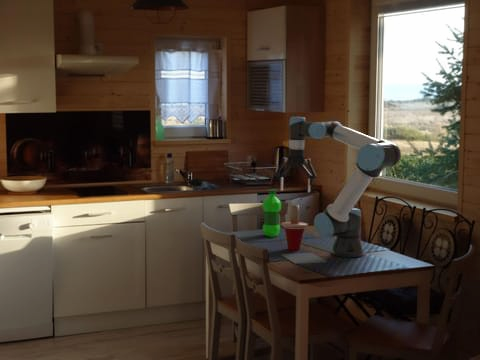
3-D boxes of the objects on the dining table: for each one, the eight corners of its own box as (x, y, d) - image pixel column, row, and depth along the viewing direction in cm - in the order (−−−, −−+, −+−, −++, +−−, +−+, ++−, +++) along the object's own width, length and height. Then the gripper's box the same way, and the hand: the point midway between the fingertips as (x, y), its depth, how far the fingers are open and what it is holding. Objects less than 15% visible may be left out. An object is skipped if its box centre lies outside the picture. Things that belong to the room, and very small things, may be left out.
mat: (327, 262, 360) (327, 261, 360) (295, 264, 355) (295, 263, 355) (311, 253, 377) (311, 252, 377) (281, 255, 372) (281, 254, 372)
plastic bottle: (258, 234, 420) (260, 188, 416) (277, 233, 423) (278, 188, 420) (265, 238, 410) (266, 191, 407) (283, 237, 413) (284, 191, 410)
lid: (312, 226, 384) (313, 205, 383) (296, 227, 375) (297, 206, 374) (292, 223, 393) (293, 203, 392) (276, 225, 383) (276, 204, 383)
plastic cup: (304, 247, 390) (305, 224, 389) (304, 252, 380) (305, 228, 378) (283, 246, 391) (284, 223, 390) (282, 251, 381) (283, 227, 379)
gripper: (323, 148, 379) (321, 191, 382) (273, 146, 385) (271, 188, 388) (321, 150, 372) (319, 193, 375) (270, 147, 378) (269, 190, 381)
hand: (295, 191), depth 382 cm, fingers open, 13 cm apart
